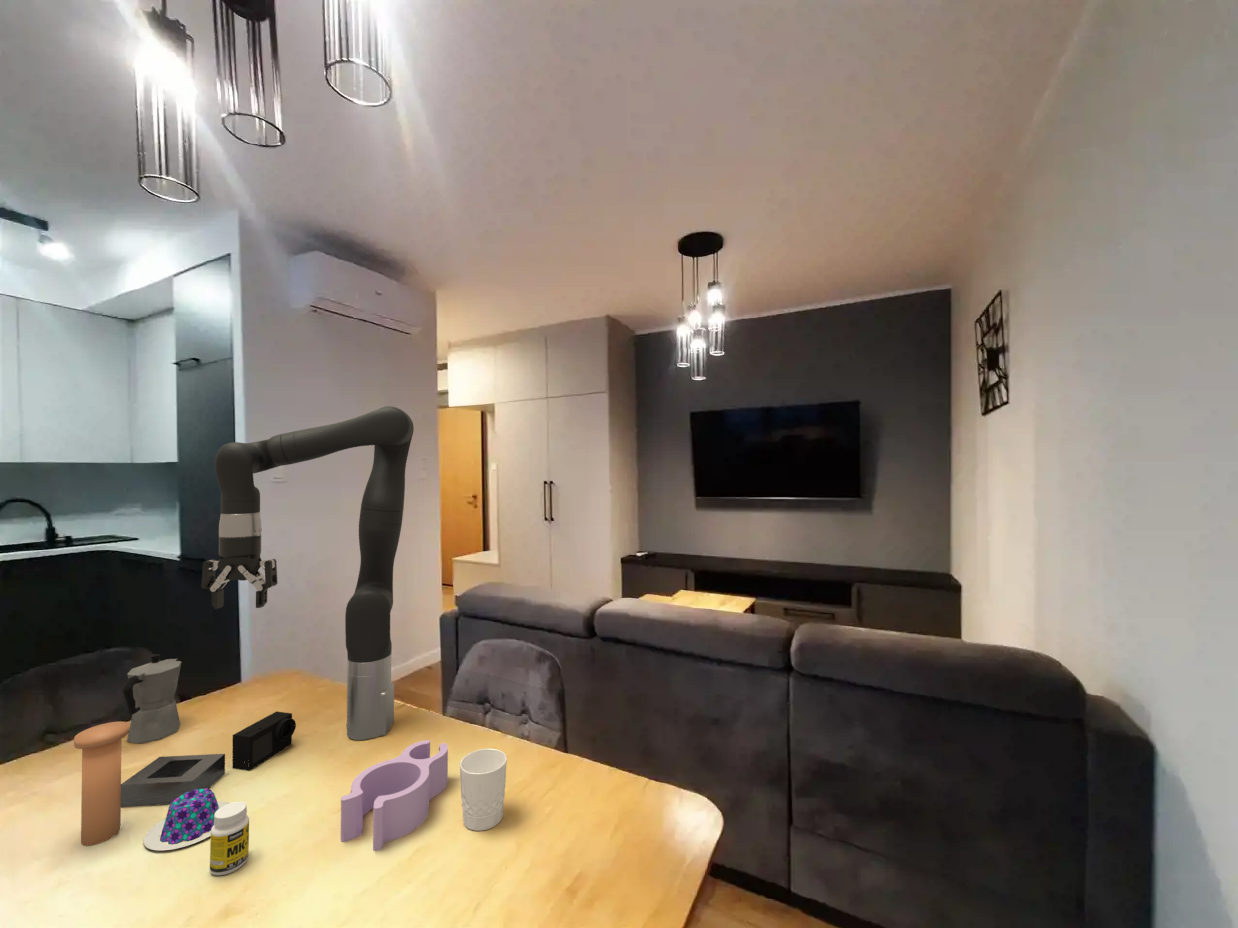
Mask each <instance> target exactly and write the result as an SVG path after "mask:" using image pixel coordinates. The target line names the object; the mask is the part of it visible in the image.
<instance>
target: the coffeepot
mask: <svg viewBox="0 0 1238 928" xmlns="http://www.w3.org/2000/svg"><path fill="white" fill-rule="evenodd" d="M160 657H161V654H159V653H155V654H152V655H150V661H151V662H149V663H145V664H142V665H139V666H137V667H133V668H131V669H130V670H129V672H127V673H126V674H127V680H126V681H125V684H124V685H123V688H122V694H123V697H124V699H125V704H126V706H127V708H128V711H129V714H130V715H132V716H131V720H130V723H129V733H128V734H127V739H126V741H127V742H129V743H130V744H135V745H136V744H146V743H152V742H155V741H160V740H163V739H165V738H167V737H169V736H172V735H174V734H175V733H176V732H178V731H179V729H180V726H181V720H180V716H179V711H178V706H177V702H176V699H175V693H176V691H177V688H178V683H179V682H178V681H179V677H180V671H181V666H182V661H180V660H178V658H169V659H164V660H159V659H160Z"/></svg>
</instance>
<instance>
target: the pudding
mask: <svg viewBox="0 0 1238 928" xmlns="http://www.w3.org/2000/svg"><path fill="white" fill-rule="evenodd" d="M229 803H230V802H229V801H223V800H221V801H217V797H216V795H215V793H214V791H213V790H212V789H210V788H209V789H196V790H193V791H191V792H187V793H184V794H182V795H181V796H180V797H178V798H176V799H175V800H173V801H172V803H171V804H170V805H169V806H168V810H167V813H166V817H164V818H163V819H162V820H160V821H158V822H157V823H156V824H154V825H153V826H152V827H150V829H149V830H148V831H147V833H146V834H145V835H144V838H143V844H144V846H145V847H146V848H147V849H149V850H151V851H170V850H176V849H177V850H178V849H180V848H184V847H189V846H190V845H191V846H192V845H193V844H196V843H198V842H201V841H203V840H206V839H207V838H209V837H211V829H212V827H213V826H214V814H215V812H216V811H217V810H218V809H219V808H221V807H223V806H225V805H227V804H229ZM203 834H204V835H203ZM183 842H184V843H183ZM164 843H167V844H164Z"/></svg>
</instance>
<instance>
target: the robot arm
mask: <svg viewBox="0 0 1238 928" xmlns="http://www.w3.org/2000/svg"><path fill="white" fill-rule="evenodd" d="M414 430H415V429H414V422H413V420H412V418H411V417H410V415H409V414H408V413H407V412H405V411H404V410H402V409H401V408H398V407H396V406H383V407H380V408H378V409H375V410H372V411H370V412H367V413H364V414H361V415H359V416H356V417H353V418H351V419H346V420H344V421H339V422H336V423H331V424H326V425H321V426H314V427H310V428H304V429H300V430H294V431H289V432H286V433H285V432H284V433H280V434H277V435H274V436H271V437H270V438H267V439H263V440H259V441H253V442H237V441H236V442H234V441H233V442H229V443H225V444H223V445H222V446H221V447H220V448H218V450H217V453H216V455H215V459H214V460H215V461H214V467H215V475H216V478H217V485H218V487H219V490H220V517H219V524H218V555H219V560H216V559H209V560H206V561H203V563H202V571H201V572H202V573H201V584H200V586H201V589H203V590H205V589H207V590H209V591H210V592H211V606H212V607H213V609H214V610H215V609H216V610H218V609H221V608H223V607H224V604H225V603H224V602H225V589H224V587H225V586H226V585H227V584H228V582H232V581H248V583H249V584H251V585H253V587H254V588H255V589H256V591H255V608H256V609H260V608H263V607H265V605H266V604H267V603H268V589H270V588H272V587H274V586H277V585H278V584H279V583H278V569H277V568H278V567H277V559H275V558H271V559H267V560H262V558H261V553H262V531H263V530H262V518H261V492H260V489H259V488H258V487H256V486H255V482H254V474H257V473H261V472H265V471H268V470H272V469H274V468H278V467H281V466H288V465H294V464H298V463H299V464H300V463H303V462H307V461H311V460H315V459H319V458H323V457H326V456H328V455H332V454H334V453H338V452H341V451H344V450H349V449H352V448H353V449H354V448H358V447H365V446H374V449H373V462H372V469H371V471H370V474H369V477H368V481H367V483H366V484H365V485H366V486H365V489H364V492H363V495H362V499H361V504H360V510H359V519H358V543H359V544H358V545H359V554H360V565H359V571H358V576H357V581H356V585H355V589H354V593H353V595H352V596H351V597H350V599H349V600H348V601H347V604H346V608H345V621H344V622H345V623H344V624H345V628H344V629H345V633H344V634H345V650H346V652H347V654H346V655H347V666H346V667H347V668H346V669H347V672H346V673H347V675H346V677H347V679H346V684H347V685H346V735H347V737H348V738H349V739H351V740H355V741H364V740H370V739H374V738H377V737H381V736H386V735H387V733H388V732H389V731H390V729H391V728H392V726H393V725H394V723H395V683H394V682H392V649H393V648H392V646H393V645H392V640H391V612H392V609H393V606H394V564H395V559H396V554H397V551H398V546H399V542H400V537H401V530H402V524H403V517H404V510H405V509H404V506H405V491H406V490H405V489H406V467H407V460H408V457H409V452H410V447H411V443H412V439H413V435H414ZM261 567H262V570H264V575H263V573H262V572H261V571H260V569H261ZM218 569H219V570H220V572H221V573H220V574H219V575H218V576H217V578H216V571H217V570H218Z"/></svg>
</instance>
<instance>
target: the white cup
mask: <svg viewBox="0 0 1238 928" xmlns="http://www.w3.org/2000/svg"><path fill="white" fill-rule="evenodd" d="M507 758H508V757H507V755H506V753H505V752H504V751H502V750H500V749H497V748H490V747H489V748H487V747H486V748H480V749H476V750H474V751H471V752H469V753H467V754H466V755H465V756H463V758H461V760H460V762H459V771H460V772H459V773H460V775H459V776H460V795H461V796H460V798H461V807H462V821H463V825H464V826H465V827H466V828H467V829H468V830H471V831H475V832H477V831H487V830H489V829H492V828H494V827H496V825H498V824H499V823H500V822H501V820H502V818H503V817H504V805H505V804H504V801H505V795H506V792H505V791H506V783H507V782H506V781H507V761H508V760H507Z"/></svg>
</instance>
